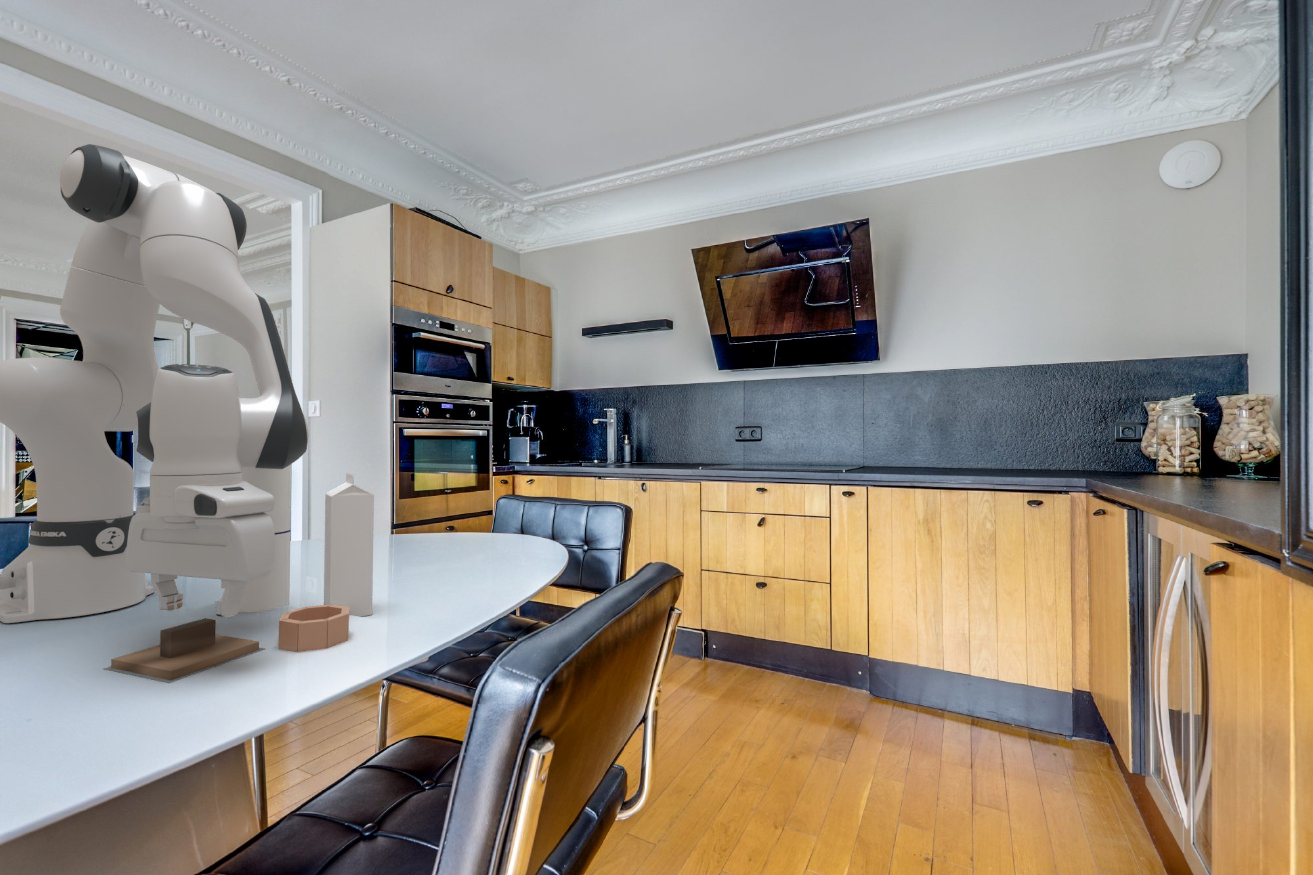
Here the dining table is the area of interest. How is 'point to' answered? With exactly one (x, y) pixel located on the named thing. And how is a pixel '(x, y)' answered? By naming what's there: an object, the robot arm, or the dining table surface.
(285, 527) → the cylindrical container
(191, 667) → the lid
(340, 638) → the bowl
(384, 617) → the dining table surface
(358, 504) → the milk
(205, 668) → the mat
